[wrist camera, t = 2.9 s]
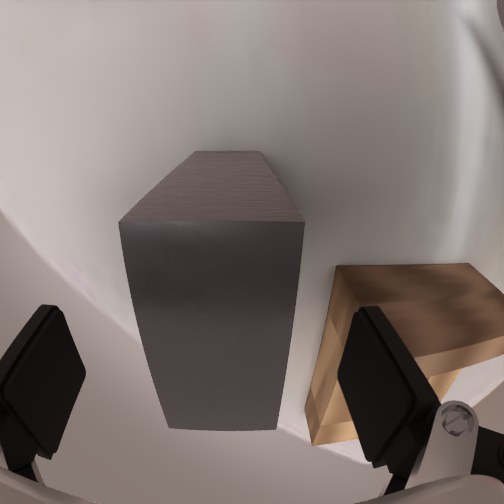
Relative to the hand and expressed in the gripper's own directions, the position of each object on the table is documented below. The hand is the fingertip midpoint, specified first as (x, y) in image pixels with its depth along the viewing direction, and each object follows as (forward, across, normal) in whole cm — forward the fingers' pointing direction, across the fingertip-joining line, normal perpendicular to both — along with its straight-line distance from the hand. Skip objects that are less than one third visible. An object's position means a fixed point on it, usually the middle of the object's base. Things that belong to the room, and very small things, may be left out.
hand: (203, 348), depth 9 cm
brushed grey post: (+12, -1, -1) cm, 12 cm away
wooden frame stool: (+12, -16, +12) cm, 23 cm away
